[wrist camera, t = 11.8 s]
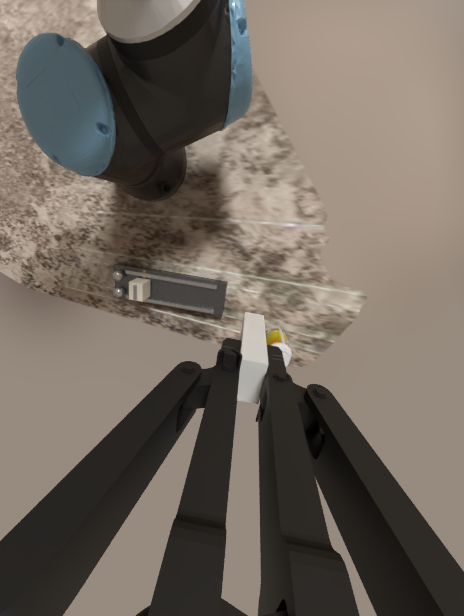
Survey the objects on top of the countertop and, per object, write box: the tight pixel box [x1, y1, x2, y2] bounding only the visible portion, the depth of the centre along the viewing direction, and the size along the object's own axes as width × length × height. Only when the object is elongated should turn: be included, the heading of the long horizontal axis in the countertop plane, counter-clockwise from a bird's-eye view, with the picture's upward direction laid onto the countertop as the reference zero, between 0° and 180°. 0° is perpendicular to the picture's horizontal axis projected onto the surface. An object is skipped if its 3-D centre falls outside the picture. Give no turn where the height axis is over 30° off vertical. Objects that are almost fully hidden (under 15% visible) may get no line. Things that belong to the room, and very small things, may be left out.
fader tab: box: [129, 278, 151, 302], centre depth 50 cm, size 4×3×5 cm
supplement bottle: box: [266, 328, 292, 367], centre depth 52 cm, size 6×6×10 cm
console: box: [112, 263, 227, 316], centre depth 53 cm, size 8×26×4 cm, turn 81°
